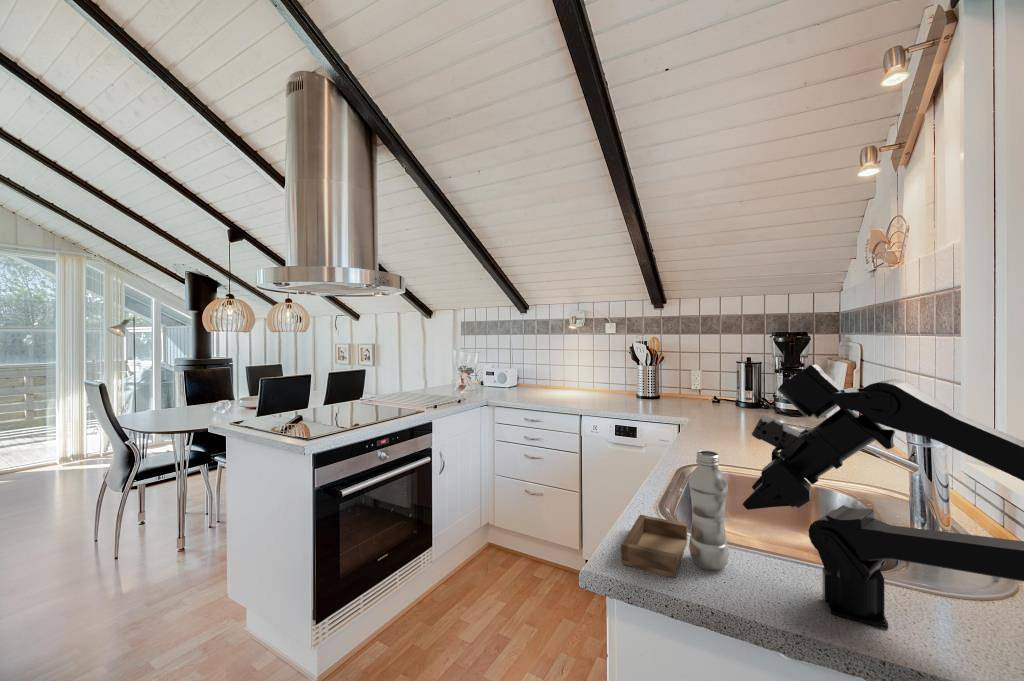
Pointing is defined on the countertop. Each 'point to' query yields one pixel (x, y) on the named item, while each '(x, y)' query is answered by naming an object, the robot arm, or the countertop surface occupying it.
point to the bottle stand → (655, 545)
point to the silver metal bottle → (708, 513)
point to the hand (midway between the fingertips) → (749, 497)
